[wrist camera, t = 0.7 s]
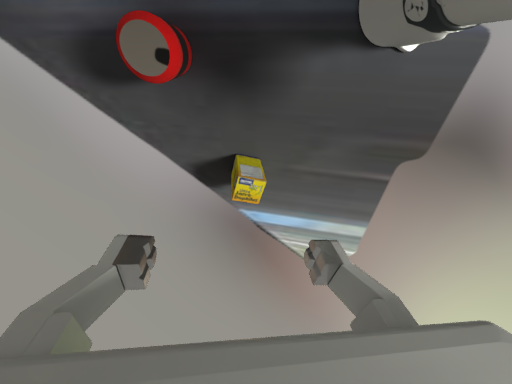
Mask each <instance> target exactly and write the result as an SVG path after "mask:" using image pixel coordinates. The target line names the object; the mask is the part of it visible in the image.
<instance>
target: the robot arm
mask: <svg viewBox="0 0 512 384" xmlns="http://www.w3.org/2000/svg"><path fill="white" fill-rule="evenodd" d="M359 19H360V24H361V27H362V30H363V32H364V34H365V36H366V37H367V39H368V40H369V41H371V42H372V43H373V44H375V45H378V46H382V47H396V48H397V49H399V50H400V51H402V52H409V51H412V50H414V49H415V48H416V47H417V46H418V45H419V44H421V43H427V42H432V41H438V40H441V39H443V38H444V37H445V36H446V35H447V34H448V33H452V32H458V31H462V30H465V29H469V28H473V27H475V26H477V25H479V24H481V23H488V22H496V21H504V20H512V0H360V1H359ZM154 242H155V239H154V236H142V235H117V236H116V237H114V239H113V240H112V242H111V244H110V245H109V247H108V248H107V250H106V251H105V253H104V255H103V256H102V258H101V259H100V261H99V263H98V264H97V265H92V266H91V267H90V268H88V269H86V270H85V271H83V272H82V273H80V274H79V275H77V276H76V277H74V278H73V279H71V280H70V281H68V282H67V283H65V284H64V285H62V286H60V287H59V288H58V289H56V290H54V291H53V292H51V293H50V294H48V295H47V296H45V297H44V298H42V299H41V300H39V301H38V302H36V303H35V304H33V305H31V306H30V307H28V308H27V309H26V310H24V311H22V312H21V313H20V314H19V315H18V316H17V317H16V319H15V320H14V321H13V322H12V324H11V325H10V326H9V327H8V328H7V330H6V331H5V332H4V333H3V334H2V336H1V337H0V384H512V334H510V333H509V332H507V331H506V330H504V329H502V328H501V327H499V326H497V325H495V324H494V323H491V322H488V321H468V322H456V323H443V324H430V325H418V323H417V322H416V321H415V319H414V318H413V317H412V315H411V314H410V312H409V311H408V310H407V308H406V307H405V306H404V304H403V303H402V301H401V300H400V298H399V297H398V296H396V295H395V294H394V293H392V292H391V291H390V290H388V289H387V288H386V287H384V286H383V285H382V284H380V283H379V282H378V281H376V280H375V279H374V278H372V277H371V276H370V275H368V274H367V273H366V272H364V271H363V270H362V269H360V268H359V267H358V266H356V265H353V264H352V262H351V261H350V259H349V258H348V256H347V254H346V253H345V251H344V250H343V248H342V246H341V245H340V243H339V242H338V241H337V240H311V241H310V242H309V244H308V245H309V248H307V249H306V251H305V253H304V261H305V265H306V267H307V268H309V269H310V272H309V275H310V278H311V280H312V283H313V285H328V287H329V288H330V289H331V290H332V291H333V292H334V293H335V295H337V297H338V298H339V299H340V300H341V301H342V302H343V303H344V304H345V305H346V306H347V307H348V309H349V310H350V311H351V312H352V313H353V314H354V315H355V316H356V318H355V319H354V320H353V321H352V322H351V324H350V326H351V328H352V330H353V331H342V332H328V333H316V334H303V335H291V336H277V337H265V338H252V339H240V340H227V341H214V342H202V343H189V344H176V345H163V346H151V347H138V348H127V349H113V350H101V351H89V350H90V348H91V346H92V342H91V340H90V339H89V337H88V336H87V335H86V333H85V332H84V331H85V330H86V329H87V328H88V327H89V326H90V325H91V324H92V323H93V322H94V321H95V320H96V319H97V318H98V317H99V316H100V315H101V314H102V313H103V312H105V311H106V310H107V309H108V307H110V305H112V303H114V302H115V300H117V299H118V298H119V297H120V296H121V295H122V294H123V293H124V292H125V290H139V289H146V287H147V284H148V281H149V278H150V271H149V270H151V269H152V268H153V267H154V264H155V260H156V247H155V246H154Z"/></svg>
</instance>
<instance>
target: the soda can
mask: <svg viewBox="0 0 512 384" xmlns="http://www.w3.org/2000/svg"><path fill="white" fill-rule="evenodd" d="M116 42H117V47H118V51H119V54H120V56H121V58H122V60H123V61H124V63H125V64H126V66H127V67H128V68H129V69H130V70H131V71H132V72H133V73H134V74H135V75H136V76H138V77H139V78H141V79H143V80H145V81H147V82H150V83H164V82H167V81H169V80H172V79H174V78H177V77H179V76H181V75H183V74H185V73H186V72H187V71H188V69H189V68H190V65H191V61H192V51H191V47H190V44H189V42H188V40H187V38H186V36H185V35H184V34H183V33H182V31H181V30H180V29H178V28H177V27H176V26H174V25H172V24H170V23H168V22H167V21H165V20H163V19H161V18H159V17H157V16H155V15H153V14H151V13H149V12H146V11H138V10H136V11H132V12H129V13H127V14H126V15H124V16H123V17H122V18H121V20H120V21H119V23H118V26H117V30H116Z"/></svg>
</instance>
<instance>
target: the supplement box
mask: <svg viewBox="0 0 512 384" xmlns="http://www.w3.org/2000/svg"><path fill="white" fill-rule="evenodd" d="M265 184H266V178H265V175H264V172H263V168H262V165H261V162H260V159H259V158H256V157H251V156H246V155H241V154H236V156H235V160H234V165H233V169H232V173H231V185H232V200H235V201H241V202H248V203H255V204H258V203H259V201H260V198H261V195H262V192H263V190H264V187H265Z"/></svg>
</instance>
